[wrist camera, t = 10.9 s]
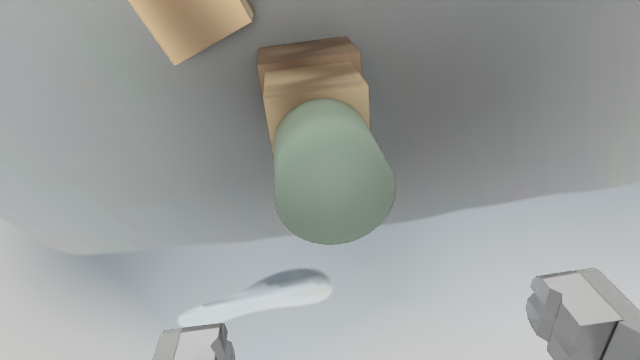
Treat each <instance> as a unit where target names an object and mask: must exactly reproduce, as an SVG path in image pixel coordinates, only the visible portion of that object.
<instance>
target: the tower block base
mask: <svg viewBox="0 0 640 360" xmlns="http://www.w3.org/2000/svg"><path fill="white" fill-rule="evenodd" d="M346 61H351V63H352V64H353V65H354V67H355V68H356V69H357V71H358V72H359V73H360V75H361V59H360V51H359V50H358V49H357V48H356V47H355V45H354V44H353V43H352V42H351V41H350V40H349V39H348V38H347V37H346V36H344V37H337V38H329V39H321V40H314V41H306V42H299V43H291V44H283V45H276V46H268V47H261V48H259V52H258V60H257V69H258V75H259V80H260V86H261V91H262V96H263V94H264V77H265V71H272V70H281V69H289V68H297V67H305V66H313V65H322V64H330V63H338V62H346ZM263 102H264V101H263ZM265 113H266V112H265Z"/></svg>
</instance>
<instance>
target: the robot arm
mask: <svg viewBox="0 0 640 360" xmlns="http://www.w3.org/2000/svg"><path fill="white" fill-rule="evenodd" d="M531 288H532V290H533V291H534V294H532V295H531V296H530V297H529V298H528V300H527V305H526V311H527V316H528V320H529V322H530V324H531V326H532V328H533V330H534V331H535V332H536V334H537V335H538V336H539V337H541V338H543V339H544V340H546V341H548V346H547V351H548V352H549V354H550V355H551V357H552V358H553V360H640V310H639V309H637V308H636V306H635V305H634V304H633V303H632V302H630V300H629V299H628V298H626V297H625V295H624V294H623V293H622V292H620V290H619V289H618V288H616V286H615V285H614V284H613V283H612V282H611V281H609V279H607V278H606V276H605V275H604V274H603V273H602V272H600V271H599V270H597V269H595V268H589V269H582V270H576V271H567V272H561V273H554V274H549V275H542V276H536V277H535V278H534V279H533V280H532V284H531ZM153 360H235V354H234V349H233V346H232V343H231V342H230V341H228V340H227V329H226V326H225V324H224V323H219V324H210V325H202V326H193V327H185V328H179V329H171V330H164V331H163V333H162V334H161V336H160V338H159V341H158V344H157V347H156V351H155V354H154V357H153Z"/></svg>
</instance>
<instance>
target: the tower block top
mask: <svg viewBox="0 0 640 360" xmlns="http://www.w3.org/2000/svg"><path fill="white" fill-rule="evenodd" d="M315 98H332V99H337V100H340V101H343V102H345V103H347V104H349V105H350V106H352V107H353V108H354V109H355V110H356V111H357V112H358V113H359V114H360V115H361V116H362V118H363V120H364V121H365V123H366V125H367V127H368V128H369V130H370V115H369V86H368V84H367V83H366V82H365V80H364V79H363V78H362V76H361V75H360V73H359V72H358V71H357V69H356V68H355V67H354V65H353V64H352V63H351V61H346V62H338V63H330V64H322V65H313V66H305V67H297V68H289V69H281V70H272V71H265V77H264V94H263V101H264V107H265V112H266V118H267V124H268V130H269V135H270V141H271V147H272V153H273V159H274V137H275V133H276V130H277V127H278V125H279V123H280V121H281V120H282V118H283V117H284V116H285V115H286V114H287V112H289V111H290V110H291V109H292V108H293V107H295V106H296V105H298V104H300V103H302V102H304V101H307V100H310V99H315Z"/></svg>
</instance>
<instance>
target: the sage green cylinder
mask: <svg viewBox="0 0 640 360" xmlns="http://www.w3.org/2000/svg"><path fill="white" fill-rule="evenodd" d="M274 180H275V205H276V209H277V213H278V215H279V217H280V219H281V220H282V222H283V223H284V225H285V226H286V227H287V228H288V229H289V230H290V231H291V232H292V233H294V234H295V235H297V236H298V237H300V238H302V239H304V240H307V241H310V242H313V243H318V244H325V245H334V244H342V243H348V242H351V241H354V240H357V239H359V238H361V237H363V236H365V235H367V234H368V233H370V232H371V231H373V230H374V229H375V228H376V227H378V226H379V225H380V224H381V223H382V221H383V220H384V219H385V218H386V216H387V215H388V213H389V211H390V210H391V208H392V205H393V202H394V198H395V192H396V185H395V178H394V175H393V172H392V170H391V168H390V166H389V164H388V162H387V161H386V159H385V157H384V155H383V153H382V152H381V150H380V148H379V146H378V144H377V143H376V141H375V139H374V137H373V136H372V134H371V132H370V130H369V128H368V127H367V125H366V123H365V121H364V120H363V118H362V116H361V115H360V114H359V113H358V112H357V111H356V110H355V109H354V108H353V107H352V106H350V105H349V104H347V103H345V102H343V101H340V100H337V99H332V98H315V99H310V100H307V101H304V102H302V103H300V104H298V105H296V106H295V107H293V108H292V109H291V110H290V111H289V112H287V114H286V115H285V116H284V117H283V118H282V120H281V121H280V123H279V125H278V127H277V130H276V133H275V137H274Z"/></svg>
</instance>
